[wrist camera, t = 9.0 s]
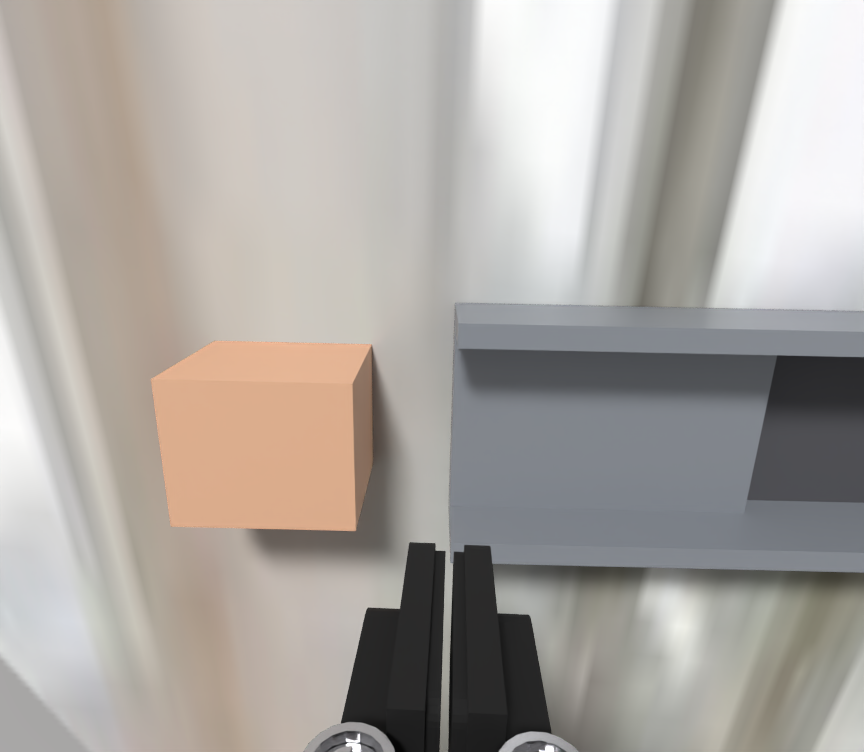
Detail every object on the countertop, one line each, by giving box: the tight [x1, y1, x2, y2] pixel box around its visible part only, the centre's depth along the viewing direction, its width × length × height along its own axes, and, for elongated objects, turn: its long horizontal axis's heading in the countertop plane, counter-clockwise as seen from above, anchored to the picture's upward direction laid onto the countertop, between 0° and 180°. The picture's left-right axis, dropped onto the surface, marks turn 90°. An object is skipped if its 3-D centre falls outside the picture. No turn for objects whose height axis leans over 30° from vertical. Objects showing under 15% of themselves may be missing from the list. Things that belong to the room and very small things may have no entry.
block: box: [151, 341, 373, 531], centre depth 20 cm, size 5×5×6 cm
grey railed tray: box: [449, 303, 864, 573], centre depth 20 cm, size 20×9×4 cm, turn 89°
